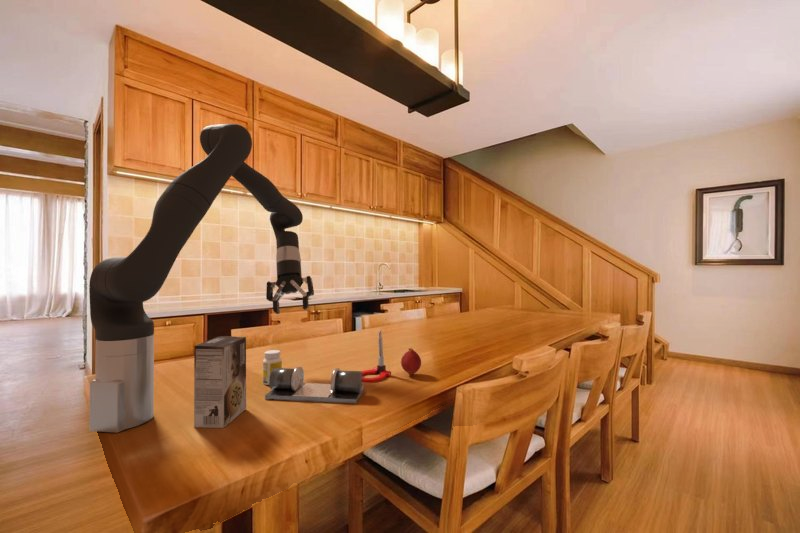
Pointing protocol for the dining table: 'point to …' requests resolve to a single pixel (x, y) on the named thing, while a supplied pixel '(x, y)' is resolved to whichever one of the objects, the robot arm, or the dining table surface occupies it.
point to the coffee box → (219, 381)
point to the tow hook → (381, 367)
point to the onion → (411, 362)
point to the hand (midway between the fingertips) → (291, 311)
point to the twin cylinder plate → (315, 386)
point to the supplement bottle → (270, 364)
